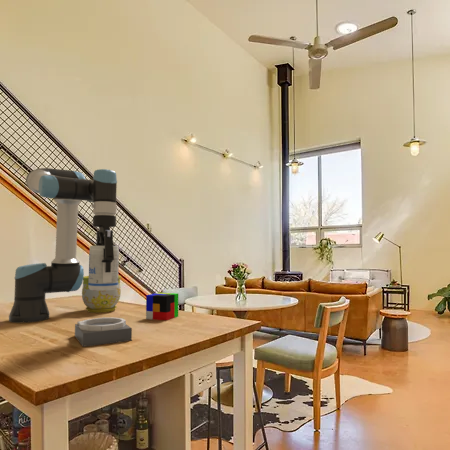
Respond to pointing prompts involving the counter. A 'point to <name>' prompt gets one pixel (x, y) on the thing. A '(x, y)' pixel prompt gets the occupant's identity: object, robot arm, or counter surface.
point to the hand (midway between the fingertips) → (103, 281)
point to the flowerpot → (100, 298)
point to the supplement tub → (97, 269)
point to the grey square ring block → (102, 331)
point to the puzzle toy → (162, 306)
